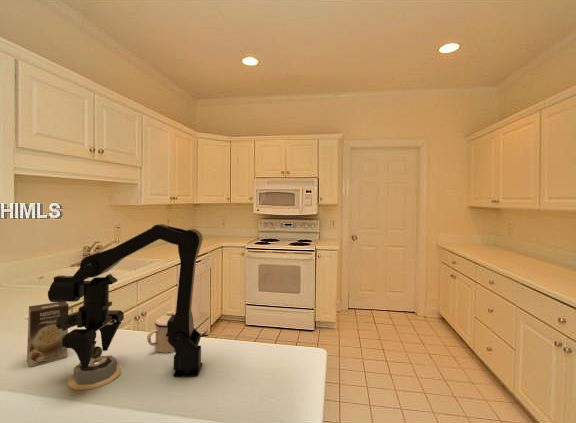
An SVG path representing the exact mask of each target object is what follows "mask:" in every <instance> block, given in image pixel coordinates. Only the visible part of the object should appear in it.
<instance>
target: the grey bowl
mask: <svg viewBox="0 0 576 423" xmlns="http://www.w3.org/2000/svg"><path fill="white" fill-rule="evenodd" d="M105 356H106V357H107V361H106V362H105V363H104V364H102V365H99V366H98V369H97V370H94V371H93V367H87V368H83V367H82V365H81V363H80V362H79V363H78V364H77V365H75V366H74V367H73V374H72V375H71V376H70V377H69V379H68V380H67V386H68V388H69V389H70V390H75V391H89V390H94V389H97V388H100V387H103V386H106V385H109V384H110V383H111V382H113V381H115V380H117V379H118V378H119V377H120V376H121V374H122V368H121V366H120V365H118V363H117V362H118V360H117V359H116V358H115V357H114V356H112V355H105Z"/></svg>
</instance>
